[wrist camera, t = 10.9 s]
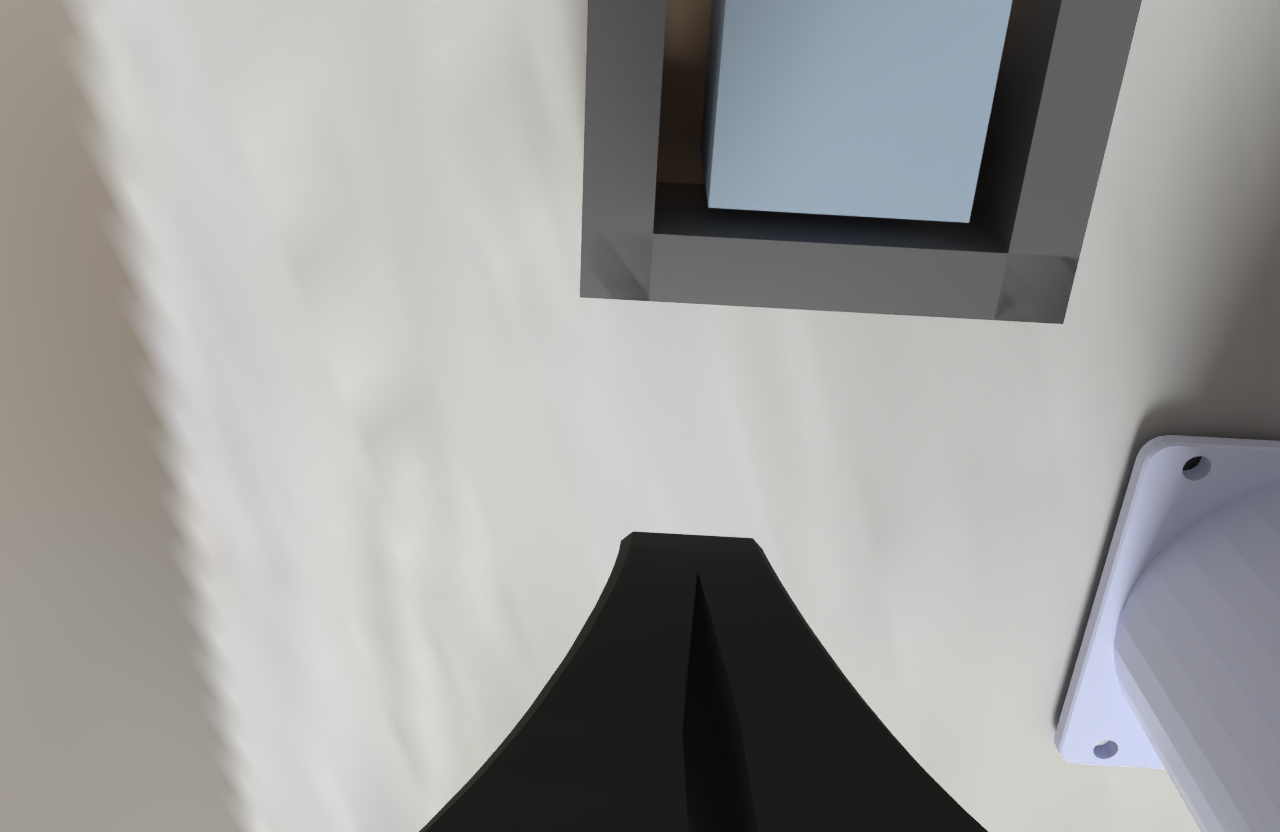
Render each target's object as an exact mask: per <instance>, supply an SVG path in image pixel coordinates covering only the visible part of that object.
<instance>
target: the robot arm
mask: <svg viewBox="0 0 1280 832" xmlns="http://www.w3.org/2000/svg"><path fill="white" fill-rule="evenodd" d="M1197 456H1202V459H1201V461H1200V462H1199V464H1198V465H1197V466H1196V467H1194V468H1192V469H1190V470H1184V471H1183V466H1184V465H1185V463H1186V462H1187V461H1188V460H1190V459H1191V458H1193V457H1197ZM1107 740H1109V741H1108V742H1107V743H1105V744H1103V745H1099V746H1096V745H1097V744H1098V743H1100V742H1102V741H1107ZM1054 743H1055V745H1056V747H1057V749H1058V751H1059V753H1060V755H1061V757H1062V758H1063V759H1064V760H1066V761H1067V762H1069V763H1074V764H1085V765H1104V766H1122V767H1141V768H1160V769H1166V771H1167V773H1168V775H1169V776H1170V778H1171V780H1172V782H1173V783H1174V785H1175V787H1176V789H1177V790H1178V792H1179V794H1180V796H1181V797H1182V799H1183V801H1184V802H1185V804H1186V806H1187V808H1188V809H1189V811H1190V813H1191V815H1192V816H1193V818H1194V820H1195V822H1196V823H1197V825H1198V827H1199V829H1200V830H1201V832H1280V441H1272V440H1253V439H1235V438H1217V437H1199V436H1180V435H1165V436H1158V437H1156V438H1154V439H1152V440H1150V441H1148V442H1147V443H1146V444H1145V445H1144V446H1143V447H1142V448H1141V449H1140V451H1139V453H1138V455H1137V457H1136V460H1135V464H1134V467H1133V471H1132V474H1131V477H1130V481H1129V484H1128V488H1127V491H1126V494H1125V498H1124V501H1123V505H1122V508H1121V511H1120V515H1119V518H1118V522H1117V525H1116V528H1115V532H1114V535H1113V539H1112V542H1111V545H1110V549H1109V552H1108V556H1107V559H1106V563H1105V566H1104V569H1103V573H1102V576H1101V580H1100V583H1099V586H1098V590H1097V593H1096V597H1095V600H1094V603H1093V607H1092V610H1091V614H1090V617H1089V620H1088V624H1087V627H1086V631H1085V634H1084V637H1083V641H1082V644H1081V648H1080V651H1079V654H1078V658H1077V661H1076V665H1075V668H1074V672H1073V675H1072V678H1071V682H1070V685H1069V689H1068V692H1067V695H1066V699H1065V702H1064V706H1063V709H1062V712H1061V716H1060V719H1059V723H1058V726H1057V729H1056V733H1055V740H1054ZM419 832H988V831H987V830H986V829H985V828H984V827H982V826H981V825H980V824H979V823H978V822H977V821H976V820H975V819H974V818H973V817H972V816H970V815H969V814H968V813H967V812H966V811H965V810H964V809H963V808H962V807H961V806H960V805H959V804H958V803H957V802H956V801H955V800H954V799H953V798H952V797H951V796H950V795H949V794H948V793H947V792H946V791H945V790H944V789H943V788H942V787H941V786H940V785H939V784H938V783H937V782H936V781H935V780H934V779H933V778H932V777H931V776H930V775H929V774H928V773H927V772H926V771H925V770H924V769H923V768H922V767H921V766H920V765H919V764H918V762H917V761H916V760H915V759H914V758H913V757H912V756H911V755H910V754H909V753H908V751H907V750H906V749H905V748H904V747H903V746H902V745H901V744H900V742H899V741H898V740H897V739H896V738H895V737H894V736H893V735H892V733H891V732H890V731H889V730H888V729H887V727H886V726H885V725H884V724H883V723H882V721H881V720H880V719H879V718H878V717H877V715H876V714H875V713H874V712H873V711H872V709H871V708H870V707H869V706H868V705H867V703H866V702H865V701H864V700H863V698H862V697H861V696H860V695H859V693H858V692H857V691H856V689H855V688H854V687H853V686H852V684H851V683H850V682H849V681H848V679H847V678H846V677H845V675H844V674H843V673H842V671H841V670H840V668H839V667H838V666H837V664H836V663H835V662H834V660H833V659H832V657H831V656H830V655H829V653H828V652H827V651H826V649H825V648H824V646H823V645H822V644H821V642H820V641H819V640H818V638H817V637H816V635H815V634H814V632H813V631H812V630H811V628H810V627H809V625H808V624H807V622H806V621H805V619H804V618H803V616H802V615H801V613H800V612H799V610H798V609H797V607H796V605H795V604H794V602H793V601H792V599H791V598H790V596H789V595H788V593H787V591H786V590H785V588H784V586H783V585H782V583H781V582H780V580H779V578H778V576H777V575H776V573H775V571H774V570H773V568H772V566H771V564H770V563H769V561H768V559H767V557H766V555H765V554H764V552H763V550H762V548H761V547H760V546H759V545H758V544H757V543H756V542H755V540H754V539H753V538H737V537H719V536H701V535H683V534H666V533H648V532H632V533H631V534H629V535H628V536H627V537H625V538H624V539H623V540H621V544H620V549H619V553H618V556H617V559H616V562H615V565H614V567H613V570H612V572H611V575H610V577H609V579H608V581H607V584H606V586H605V588H604V590H603V592H602V594H601V596H600V598H599V600H598V602H597V604H596V606H595V608H594V609H593V611H592V613H591V614H590V616H589V618H588V620H587V621H586V623H585V625H584V627H583V628H582V630H581V632H580V633H579V635H578V637H577V639H576V640H575V642H574V644H573V645H572V647H571V649H570V650H569V652H568V653H567V655H566V657H565V658H564V660H563V661H562V663H561V664H560V665H559V667H558V668H557V670H556V671H555V673H554V674H553V675H552V677H551V678H550V680H549V681H548V683H547V684H546V685H545V687H544V688H543V690H542V691H541V693H540V694H539V695H538V697H537V698H536V700H535V701H534V703H533V704H532V705H531V707H530V708H529V709H528V711H527V712H526V713H525V715H524V716H523V717H522V719H521V720H520V721H519V722H518V724H517V725H516V726H515V727H514V729H513V730H512V731H511V733H510V734H509V735H508V736H507V737H506V739H505V740H504V741H503V742H502V744H501V745H500V746H499V747H498V748H497V749H496V751H495V752H494V753H493V754H492V755H491V756H490V758H489V759H488V760H487V761H486V762H485V763H484V764H483V766H482V767H481V768H480V769H479V770H478V771H477V772H476V774H475V775H474V776H473V777H472V778H471V779H470V780H469V781H468V782H467V783H466V784H465V785H464V786H463V787H462V789H461V790H460V791H459V792H458V793H457V794H456V795H455V796H454V797H453V798H452V799H451V800H450V801H449V802H448V803H447V804H446V805H445V806H444V807H443V808H442V809H441V810H440V811H439V812H438V813H437V814H436V815H435V816H434V817H433V818H432V819H431V820H430V822H429V823H428V824H427V825H426V826H425V827H423V828H422V829H421V830H420V831H419Z"/></svg>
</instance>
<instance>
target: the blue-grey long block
mask: <svg viewBox="0 0 1280 832" xmlns="http://www.w3.org/2000/svg"><path fill="white" fill-rule="evenodd" d="M1011 5H1012V0H712V8H711V21H710V34H709V47H708V59H707V72H706V85H705V98H704V111H703V123H702V136H701V149H700V152H701V159H702V166H703V173H704V180H705V187H706V194H707V201H708V208H724V209H741V210H758V211H775V212H792V213H810V214H827V215H844V216H861V217H878V218H896V219H913V220H930V221H947V222H964V223H969V220H970V215H971V210H972V205H973V200H974V195H975V190H976V184H977V179H978V174H979V169H980V164H981V159H982V154H983V149H984V144H985V138H986V133H987V128H988V123H989V118H990V113H991V108H992V103H993V98H994V92H995V87H996V82H997V77H998V72H999V67H1000V62H1001V57H1002V51H1003V46H1004V41H1005V36H1006V31H1007V26H1008V21H1009V16H1010V11H1011Z"/></svg>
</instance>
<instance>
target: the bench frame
mask: <svg viewBox="0 0 1280 832" xmlns="http://www.w3.org/2000/svg"><path fill="white" fill-rule="evenodd" d="M1141 1H1142V0H1012V5H1011V11H1010V16H1009V21H1008V26H1007V31H1006V36H1005V41H1004V46H1003V51H1002V57H1001V62H1000V67H999V72H998V77H997V82H996V87H995V92H994V98H993V103H992V108H991V113H990V118H989V123H988V128H987V133H986V138H985V144H984V149H983V154H982V159H981V164H980V169H979V174H978V179H977V184H976V190H975V195H974V200H973V205H972V210H971V215H970V220H969V223H964V222H947V221H930V220H913V219H896V218H878V217H861V216H844V215H827V214H810V213H792V212H775V211H758V210H741V209H724V208H708V201H707V194H706V187H705V180H704V173H703V166H702V159H701V152H700V149H701V136H702V123H703V111H704V98H705V85H706V72H707V59H708V47H709V34H710V21H711V8H712V0H588V25H587V62H586V98H585V134H584V171H583V207H582V244H581V280H580V297H586V298H604V299H622V300H640V301H659V302H677V303H695V304H713V305H731V306H749V307H767V308H785V309H804V310H822V311H840V312H858V313H876V314H894V315H912V316H931V317H949V318H967V319H985V320H1003V321H1021V322H1039V323H1057V324H1063V322H1064V318H1065V313H1066V309H1067V305H1068V301H1069V297H1070V293H1071V289H1072V285H1073V281H1074V276H1075V272H1076V268H1077V264H1078V260H1079V256H1080V252H1081V248H1082V244H1083V239H1084V235H1085V231H1086V227H1087V223H1088V219H1089V215H1090V211H1091V207H1092V202H1093V198H1094V194H1095V190H1096V186H1097V182H1098V178H1099V174H1100V170H1101V165H1102V161H1103V157H1104V153H1105V149H1106V145H1107V141H1108V137H1109V133H1110V128H1111V124H1112V120H1113V116H1114V112H1115V108H1116V104H1117V100H1118V96H1119V91H1120V87H1121V83H1122V79H1123V75H1124V71H1125V67H1126V63H1127V59H1128V54H1129V50H1130V46H1131V42H1132V38H1133V34H1134V30H1135V26H1136V22H1137V17H1138V13H1139V9H1140V5H1141Z"/></svg>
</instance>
